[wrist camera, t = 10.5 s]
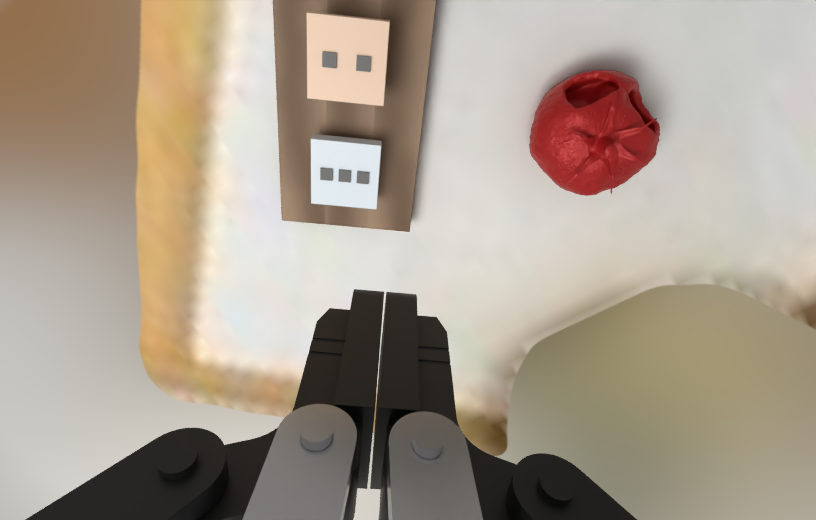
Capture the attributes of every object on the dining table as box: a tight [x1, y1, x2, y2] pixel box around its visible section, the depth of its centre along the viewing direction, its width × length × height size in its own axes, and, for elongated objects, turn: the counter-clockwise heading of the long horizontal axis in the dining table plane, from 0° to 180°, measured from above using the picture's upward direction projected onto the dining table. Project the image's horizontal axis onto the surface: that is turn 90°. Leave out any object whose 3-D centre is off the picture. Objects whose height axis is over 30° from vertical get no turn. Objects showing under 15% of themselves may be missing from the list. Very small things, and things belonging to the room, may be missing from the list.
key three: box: [311, 134, 382, 209], centre depth 40 cm, size 6×6×4 cm
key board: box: [273, 0, 436, 232], centre depth 38 cm, size 12×30×2 cm, turn 174°
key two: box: [307, 12, 390, 106], centre depth 35 cm, size 6×6×4 cm
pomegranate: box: [529, 70, 660, 195], centre depth 38 cm, size 10×10×9 cm
